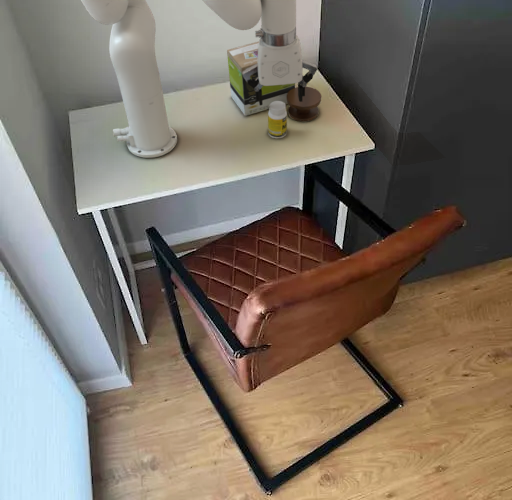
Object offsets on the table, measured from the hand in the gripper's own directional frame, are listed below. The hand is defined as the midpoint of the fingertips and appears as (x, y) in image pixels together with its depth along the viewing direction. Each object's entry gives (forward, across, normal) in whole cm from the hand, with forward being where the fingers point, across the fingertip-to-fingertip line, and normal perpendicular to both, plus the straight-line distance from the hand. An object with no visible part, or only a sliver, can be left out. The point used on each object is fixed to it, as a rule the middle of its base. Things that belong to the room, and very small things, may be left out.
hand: (280, 100), depth 140 cm
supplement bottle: (+10, -1, 0) cm, 10 cm away
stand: (+10, +7, +8) cm, 14 cm away
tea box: (+10, -4, +15) cm, 18 cm away
